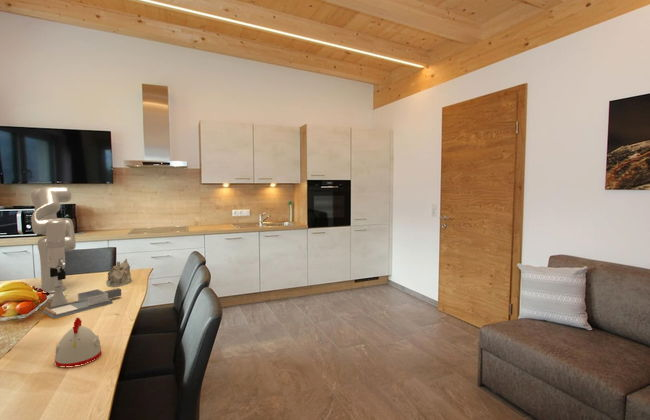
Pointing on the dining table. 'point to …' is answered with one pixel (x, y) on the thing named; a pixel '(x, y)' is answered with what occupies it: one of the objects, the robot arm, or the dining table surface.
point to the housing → (98, 296)
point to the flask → (58, 297)
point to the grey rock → (119, 275)
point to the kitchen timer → (77, 346)
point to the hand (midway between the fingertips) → (57, 278)
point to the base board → (71, 308)
